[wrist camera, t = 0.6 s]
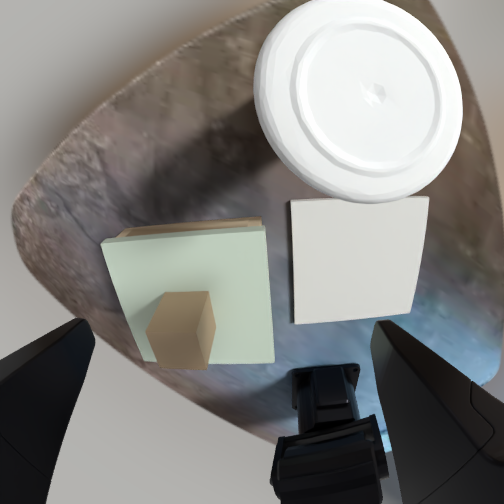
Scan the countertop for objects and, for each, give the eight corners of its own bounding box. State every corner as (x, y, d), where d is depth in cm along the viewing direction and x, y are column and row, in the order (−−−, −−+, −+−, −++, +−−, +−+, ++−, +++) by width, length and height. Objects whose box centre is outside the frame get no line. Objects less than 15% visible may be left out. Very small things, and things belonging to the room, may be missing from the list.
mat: (408, 309, 23) (409, 312, 22) (294, 321, 24) (294, 324, 23) (426, 196, 18) (429, 197, 18) (290, 200, 19) (290, 201, 19)
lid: (274, 355, 22) (274, 405, 18) (147, 354, 23) (129, 397, 19) (264, 225, 17) (263, 265, 13) (105, 238, 18) (68, 274, 14)
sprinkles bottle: (286, 155, 18) (324, 249, 6) (248, 93, 16) (202, 45, 4) (349, 123, 17) (493, 159, 5) (313, 60, 15) (405, -31, 3)
